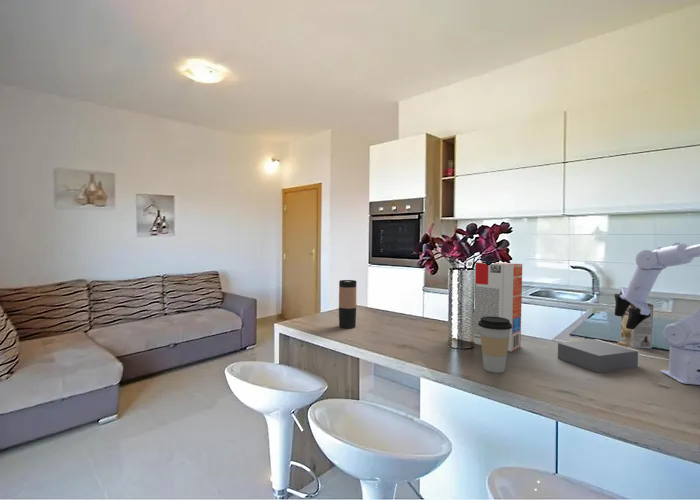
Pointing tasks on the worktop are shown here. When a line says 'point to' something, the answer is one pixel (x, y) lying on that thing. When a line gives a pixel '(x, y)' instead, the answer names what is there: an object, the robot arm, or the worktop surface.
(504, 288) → the pasta box
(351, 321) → the travel mug
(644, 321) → the coffee box
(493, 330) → the coffee cup
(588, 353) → the sleeve
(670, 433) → the worktop surface
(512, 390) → the worktop surface
